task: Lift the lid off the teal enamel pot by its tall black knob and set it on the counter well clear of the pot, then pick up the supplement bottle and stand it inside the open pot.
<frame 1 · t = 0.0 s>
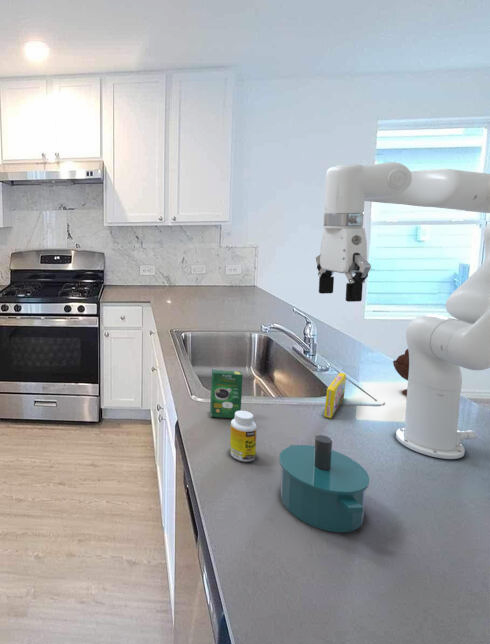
hand: (338, 297, 93), 37 cm above the worktop, tool pointing down, fingers open, 9 cm apart
supplement bottle: (242, 456, 95), on the worktop
lid: (322, 469, 77), point 7 cm above the worktop, touching pot
pot: (320, 505, 78), on the worktop
candy box: (334, 408, 117), on the worktop
ice cream bowl: (413, 395, 125), on the worktop
coffee box: (225, 417, 114), on the worktop
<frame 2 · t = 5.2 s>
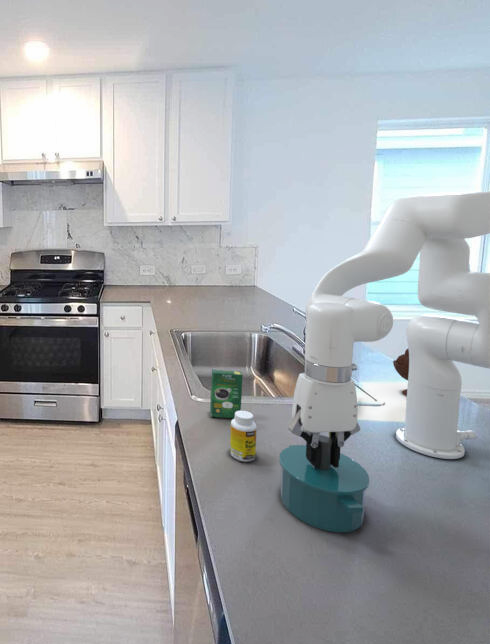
hand: (322, 462, 77), 9 cm above the worktop, tool pointing down, fingers closed on lid, 2 cm apart
lid: (322, 469, 77), point 8 cm above the worktop, touching gripper, pot
everything else where it was.
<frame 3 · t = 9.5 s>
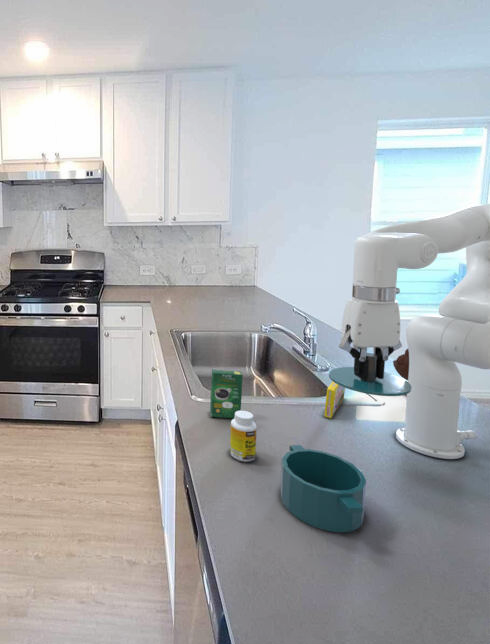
hand: (368, 376, 88), 20 cm above the worktop, tool pointing down, fingers closed on lid, 2 cm apart
lid: (368, 381, 88), point 19 cm above the worktop, touching gripper
everything else where it was.
when the fingers open (2 cm above the worktop, at t = 13.7 s): lid stays where it is, point 1 cm above the worktop.
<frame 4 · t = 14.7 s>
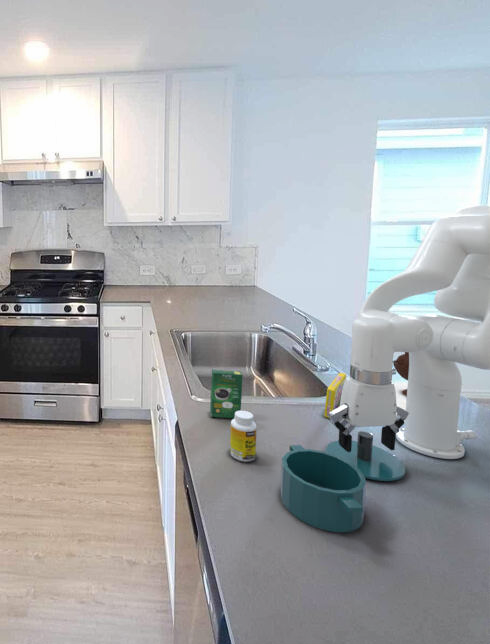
hand: (366, 447, 91), 3 cm above the worktop, tool pointing down, fingers open, 9 cm apart
lid: (363, 460, 91), point 1 cm above the worktop
everything else where it was.
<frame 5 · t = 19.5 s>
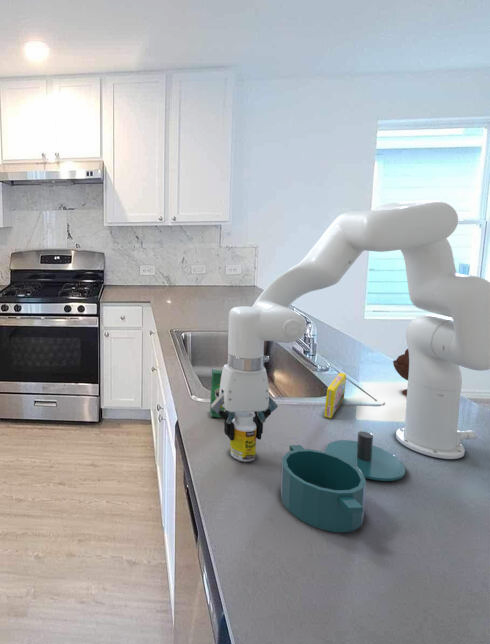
hand: (243, 436, 94), 5 cm above the worktop, tool pointing down, fingers closed on supplement bottle, 5 cm apart
supplement bottle: (242, 456, 95), on the worktop, touching gripper
everything else where it was.
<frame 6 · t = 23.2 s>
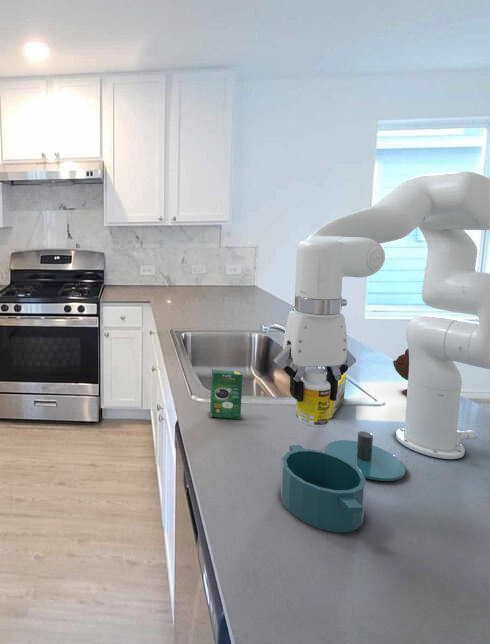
hand: (313, 397, 78), 21 cm above the worktop, tool pointing down, fingers closed on supplement bottle, 5 cm apart
supplement bottle: (312, 422, 78), point 16 cm above the worktop, touching gripper
everything else where it was.
when the fingers open (5 cm above the worktop, at t = 27.3 s): supplement bottle stays where it is, resting on pot.
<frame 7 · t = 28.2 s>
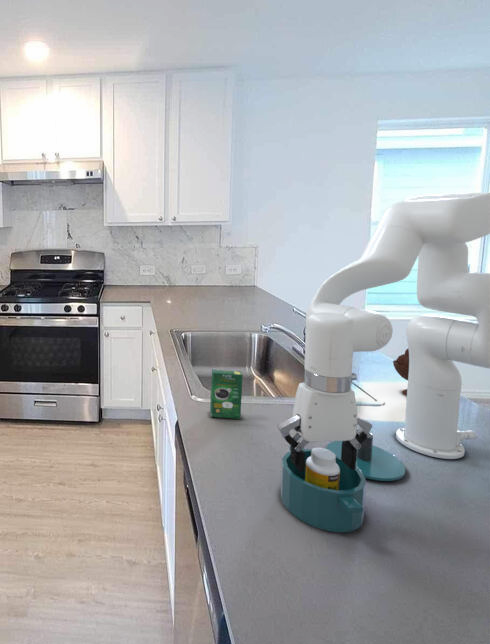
hand: (322, 466, 77), 8 cm above the worktop, tool pointing down, fingers open, 9 cm apart
supplement bottle: (320, 504, 78), resting on pot
everything else where it was.
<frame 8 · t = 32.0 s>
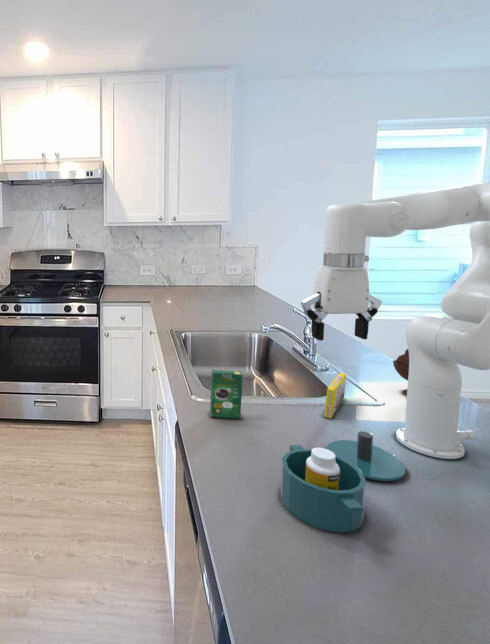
hand: (339, 338, 90), 28 cm above the worktop, tool pointing down, fingers open, 9 cm apart
nothing on the worktop moved.
at the end: lid inside the target area (0.3 cm from its centre), point 0.6 cm above the worktop; supplement bottle inside the target area in the pot (0.1 cm from its centre), point 0.3 cm above the pot's base; supplement bottle tilted 0° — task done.
